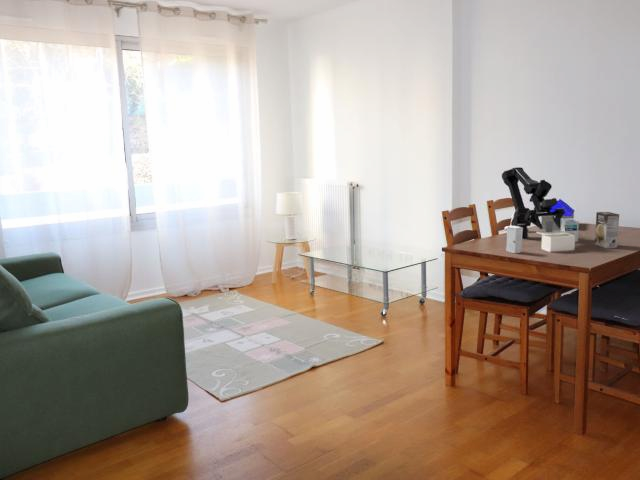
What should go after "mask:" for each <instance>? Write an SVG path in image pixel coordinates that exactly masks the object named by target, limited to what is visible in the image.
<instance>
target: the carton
mask: <svg viewBox="0 0 640 480" xmlns="http://www.w3.org/2000/svg"><path fill="white" fill-rule="evenodd" d="M575 244H576V242H575V236H573V235H570V234H563V235H546V236H545V235H541V247H540V248H541V250H543V251H546V252H548V253H556V252H557V253H559V252H560V253H561V252H573V251H575V246H576V245H575Z"/></svg>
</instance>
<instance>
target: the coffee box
mask: <svg viewBox="0 0 640 480" xmlns="http://www.w3.org/2000/svg"><path fill="white" fill-rule="evenodd" d="M595 215H596V218H595V236H594V238H595V239H594V245H595V246H598V247H601V248H603V249H612V248H614V249H615V248H616V249H617V248H618V240H619V224H620V213H619V214H618V213H614V212H611V211H596V214H595Z"/></svg>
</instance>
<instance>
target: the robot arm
mask: <svg viewBox="0 0 640 480" xmlns="http://www.w3.org/2000/svg"><path fill="white" fill-rule="evenodd" d="M501 179H502V181H503V183H504V184H505V185H506V186H507V187H508V189H509V193H510V196H511V200H512V204H513V206H514V211H515V213H514V212H513V213H514V218H513V217H512V218H513V220H512V219H511V220H512V221H511V220H510V224H511V226H519V227H523V234H522V239H527V238H528V237H529V228H528V227H531V223H532V224H533V225H534V226H536V227H537V228H538V229H540V230H543V229H542V225H541V222H542V221H541V220H540V218H539V217H541V218H542V217H545V216H552V218H553V219H554V220H553V221H554V222H555V224H556V225H557V227H558V228H560V227H561V225H560V219H561V218H562V216H563V215H564V213H565V210H564V209H563V208H557V209H555V210H554V212H550V210H551V209H552V207H553V206H555V205H556V204H557V203H558V202H557V201H558V200H557V198H556V197H555V198H554V197H553V198H546V199H545V197H547V196H548V194H549V193H550V191H551V189H552V184H551V183H550V182H548V181H546V180H545V179H540V180H539V181H538V180H535V179H532V178H531V176H530V175H528V173H527V172H525V170H524V168H523V167H520V166H519V167H513V168H510V169H507V170H504V171H503V172H502V173H501ZM519 182H520V184H522V185H523V191H524V192H525V194H526V195H531V196H530V198H529V203H533V206H534V207H533V209H530V208H529V207H526V206H525V204H524V201H523V200H524V199H523V197H522V195H521V190H520V188H519V187H520V186H519Z"/></svg>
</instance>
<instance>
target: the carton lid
mask: <svg viewBox="0 0 640 480" xmlns="http://www.w3.org/2000/svg"><path fill="white" fill-rule="evenodd" d="M535 234H538V235H541V236H542V235H545V236H546V235H563V234H570V233H567V232H563V231H561V230H554V229H553V221H546V229H545V231H535Z"/></svg>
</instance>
